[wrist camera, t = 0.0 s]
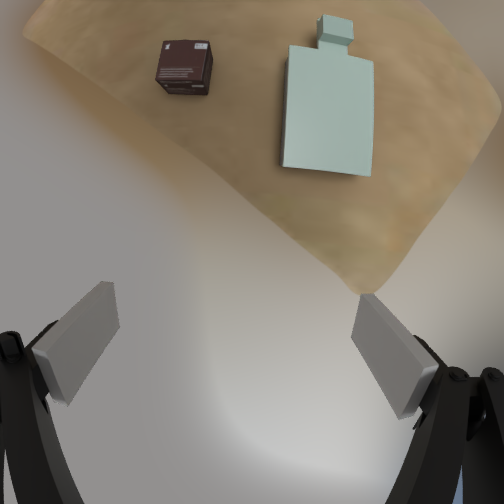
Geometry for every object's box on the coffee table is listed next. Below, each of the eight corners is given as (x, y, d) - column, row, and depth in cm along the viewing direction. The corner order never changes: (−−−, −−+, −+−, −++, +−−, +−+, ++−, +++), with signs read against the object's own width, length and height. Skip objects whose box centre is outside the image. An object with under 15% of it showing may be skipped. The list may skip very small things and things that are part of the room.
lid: (289, 16, 28) (293, 4, 25) (368, 33, 29) (378, 24, 26) (282, 166, 34) (286, 166, 31) (367, 176, 35) (379, 177, 32)
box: (167, 94, 36) (153, 80, 29) (174, 58, 34) (162, 39, 27) (208, 95, 36) (201, 81, 29) (214, 59, 34) (209, 39, 27)
